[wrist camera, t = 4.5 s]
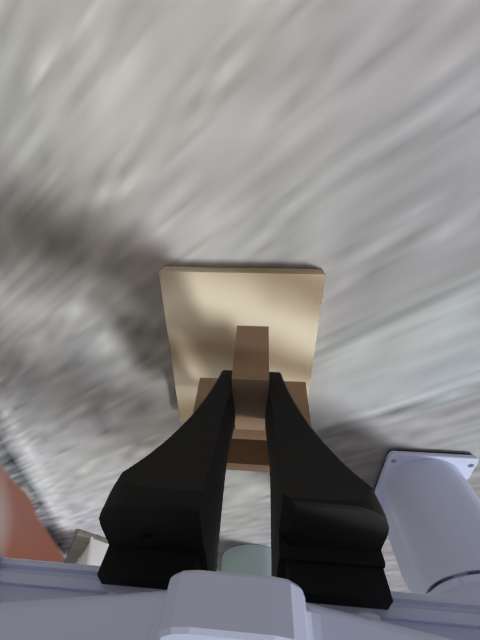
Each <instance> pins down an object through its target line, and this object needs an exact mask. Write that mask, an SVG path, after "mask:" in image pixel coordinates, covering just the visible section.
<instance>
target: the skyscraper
mask: <svg viewBox="0 0 480 640" xmlns="http://www.w3.org/2000/svg"><path fill="white" fill-rule="evenodd" d="M108 546H109V543H108V541H107V539H106V538H103V537H100V536H97V535H94V534H91V533H88V532H85V531H82V530H79V531H78V533H77V535H76V537H75V539H74V541H73V543H72V546H71V548H70V550H69V552H68V555H67V557H66V559H65V561H64V563H73V564H84V565H96V566H101V563H102V561H103V559H104V556H105V554H106V551H107V549H108ZM78 558H79V560H78ZM77 560H78V561H77ZM76 562H77V563H76Z"/></svg>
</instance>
